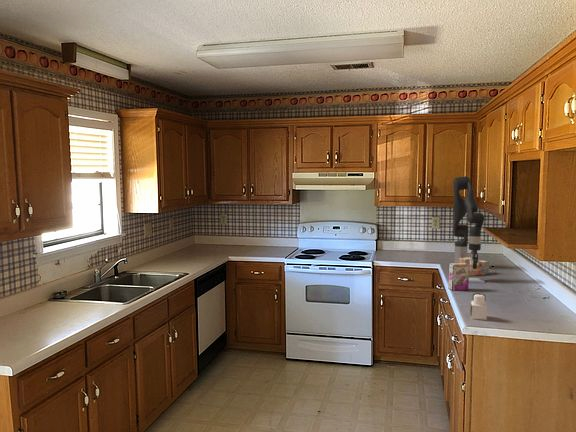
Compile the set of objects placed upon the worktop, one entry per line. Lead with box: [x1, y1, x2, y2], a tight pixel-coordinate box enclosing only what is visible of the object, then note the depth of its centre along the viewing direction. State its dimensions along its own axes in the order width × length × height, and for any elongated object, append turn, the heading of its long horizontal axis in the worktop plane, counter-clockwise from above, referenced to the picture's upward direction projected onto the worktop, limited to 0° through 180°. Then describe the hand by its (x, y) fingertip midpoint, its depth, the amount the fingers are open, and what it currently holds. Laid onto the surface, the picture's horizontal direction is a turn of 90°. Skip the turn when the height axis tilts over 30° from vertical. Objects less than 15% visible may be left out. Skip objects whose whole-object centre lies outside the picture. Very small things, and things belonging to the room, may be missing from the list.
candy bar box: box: [448, 262, 470, 292], centre depth 296 cm, size 11×5×16 cm, turn 100°
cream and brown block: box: [469, 258, 480, 271], centre depth 319 cm, size 5×5×8 cm
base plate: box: [468, 276, 486, 284], centre depth 320 cm, size 12×12×1 cm
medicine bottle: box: [469, 292, 488, 321], centre depth 240 cm, size 7×7×12 cm
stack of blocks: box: [459, 256, 490, 277], centre depth 340 cm, size 21×6×12 cm, turn 109°
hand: (474, 267), depth 320 cm, fingers closed on cream and brown block, 5 cm apart
